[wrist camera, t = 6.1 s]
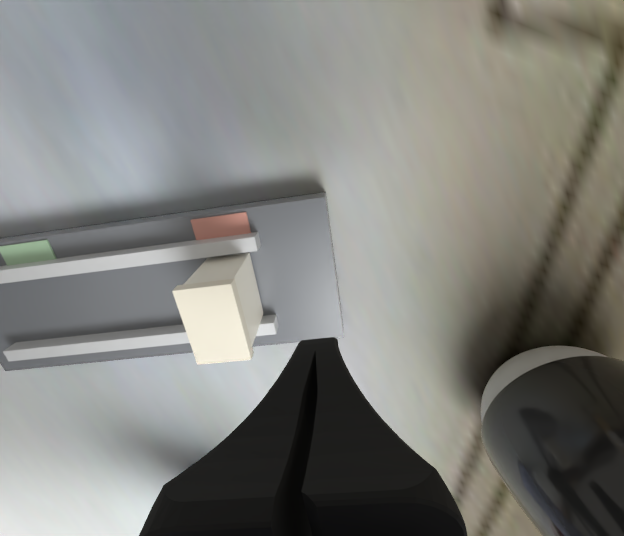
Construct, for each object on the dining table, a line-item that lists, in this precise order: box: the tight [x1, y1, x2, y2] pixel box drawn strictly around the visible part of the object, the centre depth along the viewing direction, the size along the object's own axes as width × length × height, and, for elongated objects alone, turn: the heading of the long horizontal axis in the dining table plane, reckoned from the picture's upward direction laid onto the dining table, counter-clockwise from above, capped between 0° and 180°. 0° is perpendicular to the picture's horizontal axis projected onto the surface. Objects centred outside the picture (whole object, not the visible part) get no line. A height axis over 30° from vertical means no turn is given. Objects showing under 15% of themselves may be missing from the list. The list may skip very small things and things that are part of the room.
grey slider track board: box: [0, 192, 344, 371], centre depth 21 cm, size 9×24×2 cm, turn 99°
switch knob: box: [172, 253, 264, 365], centre depth 18 cm, size 4×3×4 cm, turn 8°
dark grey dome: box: [481, 346, 624, 536], centre depth 17 cm, size 10×10×15 cm
